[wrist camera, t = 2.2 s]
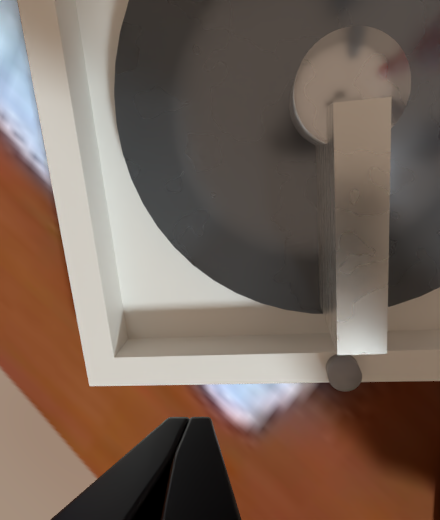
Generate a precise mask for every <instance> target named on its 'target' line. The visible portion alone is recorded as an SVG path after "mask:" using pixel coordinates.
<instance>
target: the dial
mask: <svg viewBox="0 0 440 520" xmlns="http://www.w3.org/2000/svg"><path fill="white" fill-rule="evenodd" d="M114 99H115V111H116V123H117V128H118V133H119V138H120V143H121V148H122V153H123V156H124V159H125V162H126V165H127V168H128V171H129V174H130V177H131V180H132V182H133V184H134V186H135V188H136V190H137V192H138V194H139V196H140V199H141V201H142V203H143V205H144V206H145V208H146V209H147V211H148V213H149V214H150V216H151V217H152V219H153V221H154V222H155V224H156V225H157V227H158V228H159V229H160V230H161V232H162V233H163V234H164V235H165V237H166V238H167V239H168V240H169V241H170V243H171V244H172V245H173V246H174V247H175V248H176V249H177V250H178V251H179V252H180V253H181V254H182V255H183V256H184V257H185V258H186V259H187V260H188V261H189V262H190V263H191V264H192V265H194V266H195V267H196V268H198V269H199V270H200V271H202V272H203V273H204V274H206V275H207V276H208V277H210V278H211V279H212V280H214V281H216V282H217V283H219V284H221V285H223V286H224V287H226V288H228V289H230V290H232V291H233V292H235V293H237V294H239V295H242V296H244V297H247V298H249V299H252V300H254V301H257V302H259V303H262V304H266V305H269V306H273V307H277V308H280V309H284V310H290V311H297V312H304V313H311V314H323V315H324V318H325V321H326V323H327V326H328V329H329V332H330V335H331V338H332V341H333V344H334V347H335V350H336V353H337V355H363V354H387V328H388V307H390V306H394V305H397V304H400V303H403V302H406V301H408V300H411V299H414V298H417V297H420V296H422V295H424V294H427V293H429V292H431V291H433V290H435V289H437V288H439V287H440V0H129V1H128V5H127V9H126V12H125V16H124V19H123V23H122V27H121V30H120V35H119V42H118V48H117V55H116V61H115V83H114Z"/></svg>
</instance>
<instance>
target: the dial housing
mask: <svg viewBox="0 0 440 520" xmlns="http://www.w3.org/2000/svg"><path fill="white" fill-rule="evenodd" d="M17 1H18V7H19V12H20V17H21V23H22V28H23V33H24V39H25V44H26V49H27V55H28V60H29V65H30V71H31V76H32V82H33V87H34V92H35V98H36V103H37V108H38V114H39V119H40V124H41V130H42V135H43V140H44V146H45V151H46V156H47V162H48V167H49V172H50V178H51V183H52V188H53V194H54V199H55V204H56V210H57V215H58V221H59V226H60V231H61V237H62V242H63V247H64V253H65V258H66V263H67V269H68V274H69V279H70V285H71V290H72V295H73V301H74V306H75V311H76V317H77V322H78V327H79V333H80V338H81V343H82V349H83V354H84V360H85V365H86V370H87V376H88V381H89V386H131V385H198V384H266V383H330V384H331V385H332V387H334V388H335V389H337V390H339V391H351V390H354V389H355V388H357V387H358V386H359V385H360V383H361V382H401V381H440V287H439V288H437V289H435V290H433V291H431V292H429V293H427V294H424V295H422V296H420V297H417V298H414V299H411V300H408V301H406V302H403V303H400V304H397V305H394V306H390V307H388V328H387V354H363V355H337V353H336V350H335V347H334V344H333V341H332V338H331V335H330V332H329V329H328V326H327V323H326V321H325V318H324V315H323V314H311V313H304V312H297V311H290V310H284V309H280V308H277V307H273V306H269V305H266V304H262V303H259V302H257V301H254V300H252V299H249V298H247V297H244V296H242V295H239V294H237V293H235V292H233V291H232V290H230V289H228V288H226V287H224V286H223V285H221V284H219V283H217V282H216V281H214V280H212V279H211V278H210V277H208V276H207V275H206V274H204V273H203V272H202V271H200V270H199V269H198V268H196V267H195V266H194V265H192V264H191V263H190V262H189V261H188V260H187V259H186V258H185V257H184V256H183V255H182V254H181V253H180V252H179V251H178V250H177V249H176V248H175V247H174V246H173V245H172V244H171V243H170V241H169V240H168V239H167V238H166V237H165V235H164V234H163V233H162V232H161V230H160V229H159V228H158V227H157V225H156V224H155V222H154V221H153V219H152V217H151V216H150V214H149V213H148V211H147V209H146V208H145V206H144V205H143V203H142V201H141V199H140V196H139V194H138V192H137V190H136V188H135V186H134V184H133V182H132V180H131V177H130V174H129V171H128V168H127V165H126V162H125V159H124V156H123V153H122V148H121V143H120V138H119V133H118V128H117V123H116V111H115V99H114V83H115V61H116V55H117V48H118V42H119V35H120V30H121V27H122V23H123V19H124V16H125V12H126V9H127V5H128V1H129V0H17Z"/></svg>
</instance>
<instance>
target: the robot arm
mask: <svg viewBox="0 0 440 520" xmlns="http://www.w3.org/2000/svg"><path fill="white" fill-rule="evenodd" d="M51 520H241V517H240V514H239V510H238V507H237V504H236V500H235V497H234V494H233V490H232V487H231V484H230V480H229V477H228V474H227V470H226V467H225V464H224V460H223V457H222V454H221V450H220V447H219V444H218V440H217V437H216V434H215V430H214V427H213V424H212V420H211V418H209V417H192V418H190V419H189V418H188V417H170V418H168V419H166V420H165V421H164V422H163V423H162V424H161V425H159V426H158V427H157V428H156V429H155V430H154V431H152V432H151V433H150V434H149V435H148V436H147V437H146V438H144V439H143V440H142V441H141V442H140V443H139V444H137V445H136V446H135V447H134V448H133V449H132V450H131V451H129V452H128V453H127V454H126V455H125V456H124V457H122V458H121V459H120V460H119V461H118V462H117V463H116V464H114V465H113V466H112V467H111V468H110V469H109V470H107V471H106V472H105V473H104V474H103V475H102V476H101V477H99V478H98V479H97V480H96V481H95V482H94V483H92V484H91V485H90V486H89V487H88V488H87V489H86V490H84V491H83V492H82V493H81V494H80V495H79V496H77V498H75V499H74V500H73V501H72V502H70V503H69V504H68V505H67V506H66V507H65V508H64V509H62V510H61V511H60V512H59V513H58V514H57V515H55V516H54V517H53V518H52V519H51Z"/></svg>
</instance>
